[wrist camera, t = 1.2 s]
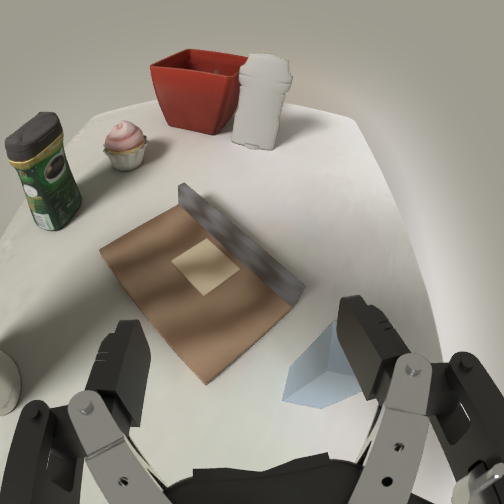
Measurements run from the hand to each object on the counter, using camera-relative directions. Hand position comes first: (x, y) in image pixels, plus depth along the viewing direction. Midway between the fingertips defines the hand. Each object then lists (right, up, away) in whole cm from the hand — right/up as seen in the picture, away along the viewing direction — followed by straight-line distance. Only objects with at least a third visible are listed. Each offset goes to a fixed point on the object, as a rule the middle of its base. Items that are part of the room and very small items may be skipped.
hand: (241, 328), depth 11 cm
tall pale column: (+1, +27, +53) cm, 59 cm away
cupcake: (-25, +21, +43) cm, 54 cm away
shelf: (-8, -1, +28) cm, 30 cm away
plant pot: (-12, +36, +57) cm, 68 cm away
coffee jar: (-34, +10, +32) cm, 48 cm away
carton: (+7, -14, +22) cm, 26 cm away
